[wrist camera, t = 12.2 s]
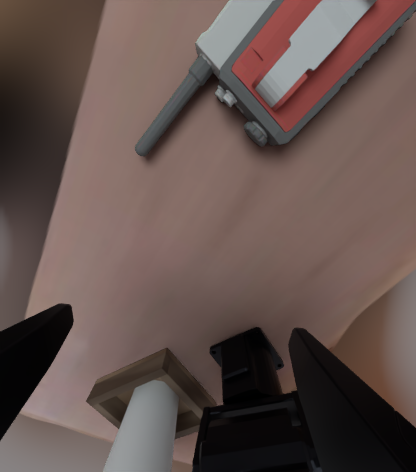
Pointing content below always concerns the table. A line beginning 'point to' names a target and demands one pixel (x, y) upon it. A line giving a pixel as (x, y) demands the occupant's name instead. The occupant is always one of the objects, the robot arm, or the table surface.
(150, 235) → the table surface
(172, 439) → the white cup
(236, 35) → the walkie-talkie
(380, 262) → the table surface
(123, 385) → the frame
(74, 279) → the table surface
